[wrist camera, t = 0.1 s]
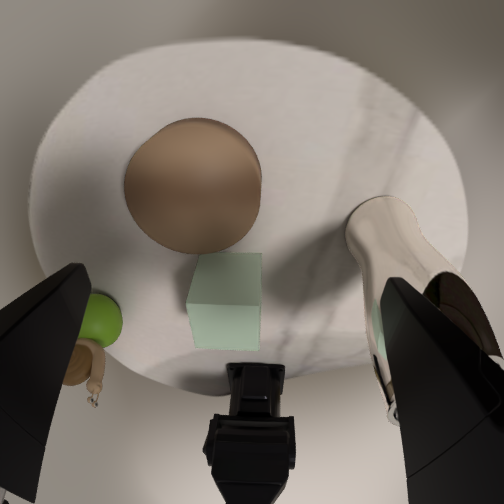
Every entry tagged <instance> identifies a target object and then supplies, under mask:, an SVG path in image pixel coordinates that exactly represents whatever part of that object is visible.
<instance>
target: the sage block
mask: <svg viewBox="0 0 504 504" xmlns="http://www.w3.org/2000/svg"><path fill="white" fill-rule="evenodd" d="M261 286H262V253H226V252H214V253H209V254H200V255H199V258H198V262H197V265H196V269H195V272H194V275H193V279H192V282H191V286H190V289H189V293H188V297H187V300H186V308H187V312H188V317H189V321H190V326H191V330H192V335H193V339H194V343H195V348H204V349H222V350H245V351H259V345H260V321H261Z"/></svg>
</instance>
